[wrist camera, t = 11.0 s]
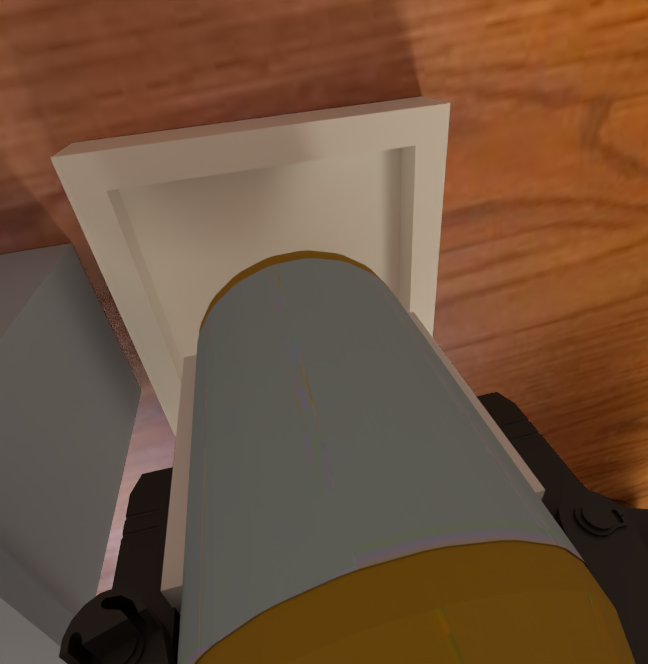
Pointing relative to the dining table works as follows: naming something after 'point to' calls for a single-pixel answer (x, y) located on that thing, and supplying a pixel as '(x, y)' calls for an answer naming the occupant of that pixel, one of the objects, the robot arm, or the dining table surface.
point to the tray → (257, 212)
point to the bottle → (362, 495)
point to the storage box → (55, 446)
